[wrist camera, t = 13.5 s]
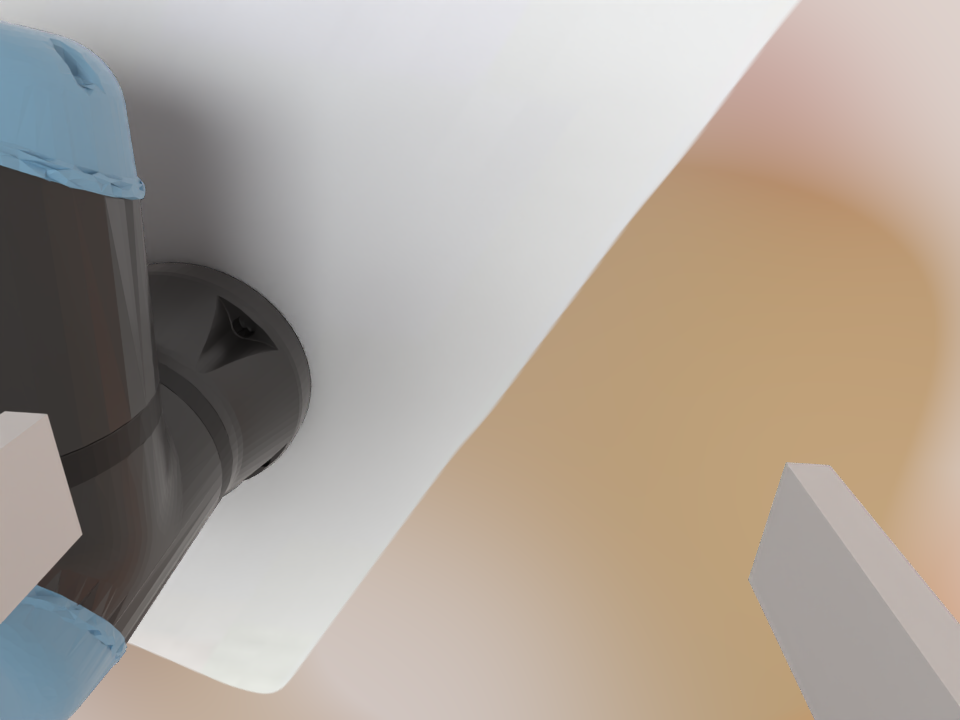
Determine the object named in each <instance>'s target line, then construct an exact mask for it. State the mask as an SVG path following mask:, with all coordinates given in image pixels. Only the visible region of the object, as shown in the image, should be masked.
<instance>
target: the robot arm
mask: <svg viewBox="0 0 960 720" xmlns="http://www.w3.org/2000/svg"><path fill="white" fill-rule="evenodd" d="M144 196H145V184H144V183H143V182H142V180H141V179H140V178H139V177H138V176H137V171H136V166H135V160H134V154H133V148H132V142H131V135H130V129H129V123H128V117H127V111H126V104H125V99H124V96H123V93H122V89H121V87H120V85H119V83H118V81H117V79H116V77H115V76H114V74H113V73H112V71H111V70H110V69H109V67H108V66H107V65H106V64H105V63H104V62H103V61H102V60H101V59H100V58H99V57H98V56H97V55H96V54H94V53H93V52H92V51H90V50H89V49H87V48H86V47H84V46H83V45H81V44H79V43H77V42H76V41H74V40H71V39H69V38H66V37H63V36H60V35H57V34H53V33H50V32H46V31H42V30H38V29H34V28H30V27H26V26H22V25H17V24H13V23H9V22H5V21H1V20H0V720H68V718H70V717H71V716H72V715H73V714H74V713H75V712H76V710H77V709H78V708H79V707H80V706H81V704H82V703H83V702H84V701H85V700H86V698H87V697H88V696H89V695H90V693H91V692H92V691H93V690H94V688H95V687H96V686H97V685H98V684H99V683H100V681H101V680H102V679H103V678H104V676H105V675H106V674H107V673H108V671H109V670H110V669H111V668H112V667H113V665H115V664H116V663H118V662H119V660H120V658H121V657H122V656H123V654H124V653H125V651H126V650H125V649H126V648H127V646H126V643H127V642H128V640H129V639H130V637H131V636H132V634H133V633H134V631H135V630H136V628H137V627H138V625H139V624H140V622H141V620H142V619H143V617H144V616H145V614H146V613H147V611H148V610H149V608H150V607H151V605H152V604H153V602H154V601H155V599H156V598H157V596H158V595H159V593H160V591H161V590H162V588H163V587H164V585H165V584H166V582H167V581H168V579H169V578H170V576H171V575H172V573H173V572H174V570H175V569H176V567H177V566H178V564H179V562H180V561H181V559H182V558H183V556H184V555H185V553H186V552H187V550H188V549H189V547H190V546H191V544H192V543H193V541H194V540H195V538H196V537H197V535H198V534H199V532H200V530H201V529H202V527H203V526H204V524H205V523H206V521H207V520H208V518H209V517H210V515H211V514H212V512H213V511H214V509H215V508H216V506H217V505H218V503H219V502H220V500H221V499H222V497H223V496H225V495H226V494H228V493H229V492H231V491H232V490H234V489H235V488H236V487H238V486H239V485H240V484H241V483H242V481H244V480H247V479H249V478H251V477H253V476H255V475H257V474H259V473H260V472H262V471H263V470H265V469H266V468H268V467H269V466H270V465H272V464H273V463H274V462H275V461H276V460H277V459H278V458H279V457H280V456H281V455H282V454H283V453H284V452H285V450H286V449H287V448H288V446H289V445H290V443H291V442H292V440H293V439H294V437H295V435H296V433H297V432H298V430H299V428H300V426H301V425H302V423H303V421H304V418H305V416H306V413H307V410H308V406H309V401H310V391H311V383H310V373H309V368H308V364H307V360H306V357H305V354H304V351H303V349H302V346H301V344H300V342H299V340H298V338H297V336H296V335H295V333H294V331H293V330H292V328H291V327H290V325H289V324H288V323H287V321H286V320H285V319H284V317H283V316H282V315H281V314H280V313H279V312H278V311H277V309H276V308H275V307H274V306H273V305H272V304H270V303H269V302H268V301H267V300H266V299H265V298H264V297H263V296H261V295H260V294H259V293H257V292H256V291H255V290H253V289H252V288H250V287H249V286H247V285H246V284H244V283H242V282H241V281H239V280H237V279H235V278H233V277H231V276H229V275H226V274H224V273H222V272H219V271H216V270H213V269H210V268H207V267H203V266H198V265H193V264H186V263H157V264H150V265H147V258H146V249H145V240H144V230H143V221H142V212H141V202H140V199H144ZM748 580H749V582H750V584H751V586H752V589H753V591H754V593H755V595H756V597H757V599H758V601H759V603H760V605H761V607H762V610H763V612H764V614H765V616H766V618H767V620H768V622H769V624H770V626H771V628H772V630H773V633H774V635H775V637H776V639H777V641H778V643H779V645H780V648H781V649H782V652H783V654H784V656H785V658H786V660H787V662H788V665H789V667H790V669H791V671H792V673H793V675H794V677H795V679H796V681H797V683H798V685H799V688H800V690H801V692H802V694H803V696H804V698H805V700H806V702H807V705H808V707H809V709H810V711H811V713H812V715H813V717H814V719H815V720H960V624H959V623H958V622H957V620H956V619H955V618H954V617H953V615H952V614H951V613H950V612H949V611H948V610H947V608H946V607H945V606H944V604H943V603H942V602H941V601H940V600H939V598H938V597H937V596H936V595H935V593H934V592H933V591H932V590H931V589H930V587H929V586H928V585H927V584H926V582H925V581H924V580H923V579H922V577H920V575H919V574H918V573H917V571H916V570H915V569H914V568H913V566H912V565H911V564H910V563H909V562H908V560H907V559H906V558H905V557H904V556H903V554H902V553H901V552H900V551H899V549H898V548H897V547H896V546H895V544H894V543H893V542H892V541H891V540H890V538H889V537H888V536H887V535H886V533H885V532H884V531H883V530H882V529H881V527H880V526H879V525H878V524H877V522H876V521H875V520H874V519H873V518H872V516H871V515H870V514H869V513H868V511H867V510H866V509H865V508H864V506H863V505H862V504H861V503H860V502H859V501H858V499H857V498H856V497H855V495H854V494H853V493H852V492H851V491H850V489H849V488H848V487H847V486H846V484H845V483H844V482H843V481H842V479H841V478H840V477H839V476H838V475H837V473H836V472H835V471H834V470H833V468H832V467H831V466H830V465H818V464H803V463H788V462H786V464H785V467H784V470H783V473H782V476H781V479H780V483H779V486H778V489H777V492H776V495H775V498H774V501H773V504H772V508H771V511H770V514H769V517H768V520H767V523H766V526H765V529H764V532H763V535H762V539H761V542H760V545H759V548H758V551H757V554H756V557H755V560H754V563H753V567H752V570H751V573H750V576H749V579H748Z"/></svg>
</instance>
